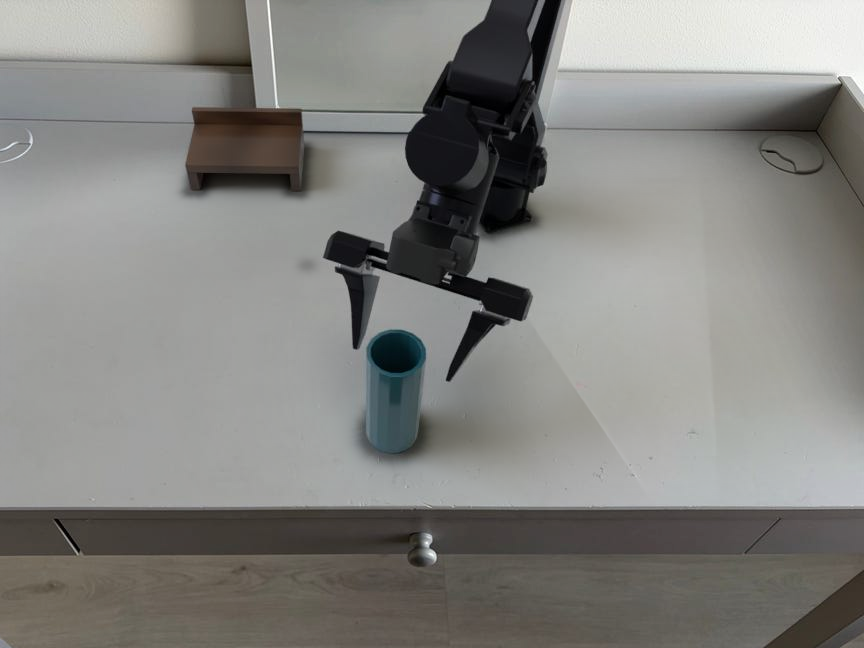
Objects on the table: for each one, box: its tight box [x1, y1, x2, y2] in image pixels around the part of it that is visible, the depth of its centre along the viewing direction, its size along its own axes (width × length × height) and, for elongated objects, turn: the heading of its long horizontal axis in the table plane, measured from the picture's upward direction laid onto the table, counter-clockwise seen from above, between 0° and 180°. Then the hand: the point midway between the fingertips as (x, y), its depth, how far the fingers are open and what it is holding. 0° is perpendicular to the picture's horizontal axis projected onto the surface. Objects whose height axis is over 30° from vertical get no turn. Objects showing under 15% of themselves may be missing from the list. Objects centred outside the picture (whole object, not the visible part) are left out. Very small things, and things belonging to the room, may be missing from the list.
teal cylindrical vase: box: [365, 329, 427, 454], centre depth 73 cm, size 5×5×13 cm
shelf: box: [184, 106, 305, 192], centre depth 100 cm, size 14×9×6 cm, turn 90°
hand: (401, 364), depth 72 cm, fingers open, 9 cm apart
